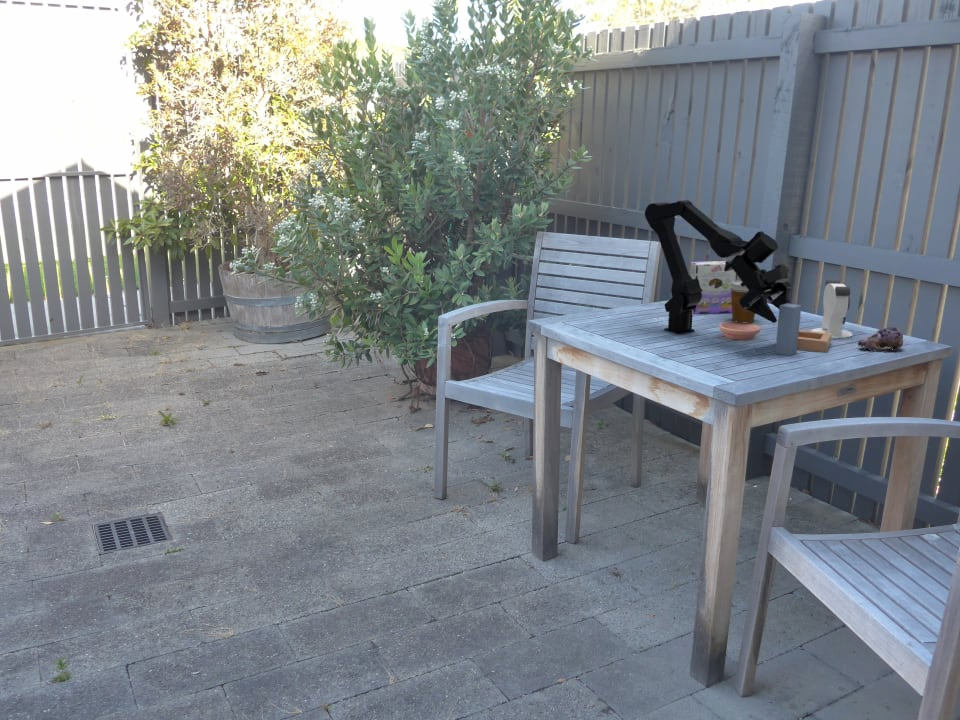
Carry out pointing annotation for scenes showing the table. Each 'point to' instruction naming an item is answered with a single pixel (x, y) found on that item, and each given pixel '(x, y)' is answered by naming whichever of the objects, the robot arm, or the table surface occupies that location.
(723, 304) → the candy box
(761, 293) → the robot arm
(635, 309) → the table surface
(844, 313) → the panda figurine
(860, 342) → the skull
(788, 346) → the post
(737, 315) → the disposable coffee cup
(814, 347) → the frame
